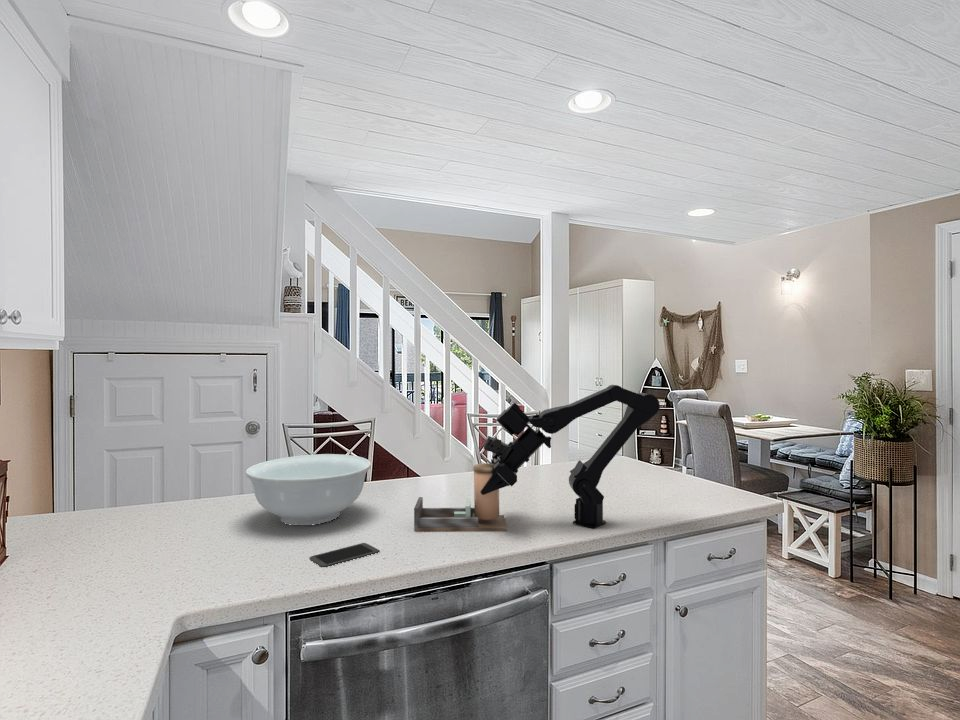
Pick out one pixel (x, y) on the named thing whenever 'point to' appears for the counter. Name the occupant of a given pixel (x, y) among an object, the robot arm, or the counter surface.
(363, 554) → the cell phone
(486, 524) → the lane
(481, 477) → the jar
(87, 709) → the counter surface
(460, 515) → the block
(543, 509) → the counter surface
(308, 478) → the bowl
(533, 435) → the robot arm
